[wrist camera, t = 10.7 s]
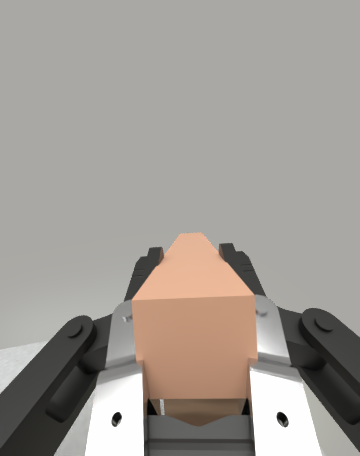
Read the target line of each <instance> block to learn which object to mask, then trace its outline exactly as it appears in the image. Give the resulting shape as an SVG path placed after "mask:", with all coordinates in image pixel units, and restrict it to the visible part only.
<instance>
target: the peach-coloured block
mask: <svg viewBox="0 0 360 456" xmlns="http://www.w3.org/2000/svg"><path fill="white" fill-rule="evenodd" d="M131 302H132V314H133V327H134V339H135V351H136V361H138V360H144V366H145V371H146V376H147V381H148V387H149V392H150V397H151V399H235V398H245V397H246V381H247V365H248V357H249V358H255V359H258V351H257V332H256V312H255V295H254V294H253V293H252V291H251V290H250V289H249V288H248V287H247V286H246V284H245V283H244V282H243V281H242V280H241V278H240V277H239V276H238V275H237V274H236V273H235V271H234V270H233V269H232V268H231V267H230V265H229V264H228V263H227V262H225V261H224V260H223V259H222V258H221V256H220V255H219V252H218V251H217V250H216V249H215V248H214V246H213V245H212V244H211V243H210V242H209V240H208V239H207V238H206V237H205V236H204V235H203V233H186V234H180V235H179V236H178V237H177V239H176V240H175V242H174V243H173V244H172V246H171V247H170V248H169V250H168V251H167V252H166V254H165V255H164V258H163V260H162V261H161V262H160V264H159V265H158V266H156V267H155V269H154V270H153V271H152V273H151V274H150V276H149V277H148V278H147V280H146V281H145V282H144V284H143V285H142V286H141V288H140V289H139V291H138V292H137V293H136V295H135V296H134V297H133V299H132V300H131Z"/></svg>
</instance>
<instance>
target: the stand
mask: <svg viewBox="0 0 360 456" xmlns="http://www.w3.org/2000/svg"><path fill="white" fill-rule="evenodd" d="M164 409H165V415H167V416H170V417H173V418H175V419H178V420H180V421H183V422H185V423H188V424H191V425H193V426H196V427H200V426H203V425H206V424H208V423H211V422H213V421H216V420H219V419H221V418H224V417H226V416H229V415H239V398H235V399H164Z"/></svg>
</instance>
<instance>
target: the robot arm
mask: <svg viewBox="0 0 360 456" xmlns="http://www.w3.org/2000/svg"><path fill="white" fill-rule="evenodd" d="M219 255H220V256H221V258H222V259H223V260H224V261H225V262H227V263H228V264H229V265H230V267H231V268H232V269H233V270H234V271H235V273H236V274H237V275H238V276H239V277H240V278H241V280H242V281H243V282H244V283H245V284H246V286H247V287H248V288H249V289H250V290H251V291H252V293H253V294H254V295H255V312H256V332H257V351H258V359H255V358H249V357H248V365H247V381H246V397H245V398H239V415H229V416H226V417H224V418H221V419H219V420H216V421H213V422H211V423H208V424H206V425H203V426H200V427H196V426H193V425H191V424H188V423H185V422H183V421H180V420H178V419H175V418H173V417H170V416H167V415H161V410H160V400H159V399H151V397H150V392H149V387H148V381H147V376H146V371H145V366H144V360H138V361H136V351H135V339H134V327H133V314H132V302H131V300H132V299H133V297H134V296H135V295H136V293H137V292H138V291H139V289H140V288H141V286H142V285H143V284H144V282H145V281H146V280H147V278H148V277H149V276H150V274H151V273H152V271H153V270H154V269H155V267H156V266H158V265H159V264H160V262H161V261H162V260H163V258H164V254H163V248H162V247H153V248H149V252H148V255H147V256H146V257H141V258H140V259H139V260H138V261H137V263H136V265H135V268H134V271H133V274H132V278H131V281H130V284H129V287H128V290H127V293H126V296H125V300H124V302H123V303H121V304H120V305H118V306H117V308H116V309H115V310H114V312H113V313H112V314H110V315H108V316H105V317H102V318H100V319H97V320H94V321H92V319H91V318H90V317H88V316H84V315H83V316H78V317H75V318H73V319H71V320H70V321H68V322H67V323H66V324H65V325H64V326H63V327H62V328H61V329H60V330H59V331H58V332H57V333H56V335H55V336H54V337H53V338H52V339H51V340H50V341H49V342H48V343H47V344H46V345H45V346H44V347H43V349H42V350H41V351H40V352H39V353H38V354H37V355H36V356H35V357H34V358H33V359H32V360H31V361H30V363H29V364H28V365H27V366H26V367H25V368H24V369H23V370H22V371H21V372H20V373H19V374H18V375H17V377H16V378H15V379H14V380H13V381H12V382H11V383H10V384H9V385H8V386H7V387H6V388H5V389H4V390H3V392H2V393H1V394H0V456H53V455H54V454H55V452H56V450H57V449H58V447H59V446H60V444H61V442H62V441H63V439H64V438H65V436H66V434H67V433H68V431H69V429H70V428H71V426H72V425H73V423H74V421H75V420H76V418H77V416H78V415H79V413H80V412H81V410H82V408H83V407H84V405H85V403H86V402H87V400H88V399H89V397H90V395H91V394H92V392H93V390H94V389H95V387H96V389H95V396H94V402H93V409H92V415H91V421H90V428H89V434H88V441H87V447H86V454H85V456H321V453H320V449H319V445H318V441H317V437H316V434H315V430H314V426H313V422H312V418H311V414H310V411H309V407H308V403H307V399H306V395H305V391H304V387H303V383H302V380H301V378H302V379H303V380H304V381H305V383H306V384H307V385H308V387H309V388H310V389H311V390H312V392H313V393H314V394H315V395H316V397H317V398H318V399H319V401H320V402H321V403H322V405H323V406H324V407H325V408H326V410H327V411H328V412H329V413H330V415H331V416H332V417H333V419H334V420H335V421H336V423H337V424H338V425H339V426H340V428H341V429H342V430H343V431H344V433H345V434H346V435H347V437H348V438H349V439H350V441H351V442H352V443H353V444H354V446H355V447H356V448H357V449H358V451H359V452H360V337H358V336H357V335H356V334H355V333H354V332H353V331H351V330H350V329H349V328H348V327H347V326H345V325H344V324H343V323H342V322H341V321H340V320H338V319H337V318H336V317H335V316H333V315H332V314H330V313H328V312H327V311H324V310H321V309H317V308H309V309H306V310H305V311H304V312H303V314H301V313H296V312H293V311H289V310H285V309H282V308H280V307H278V306H276V305H275V303H273V301H271V300H270V299H268V298H267V297H266V295H265V293H264V290H263V288H262V286H261V284H260V281H259V279H258V277H257V275H256V273H255V271H254V268H253V266H252V264H251V261H250V259H249V257H248V256H247V255H245V253H244V252H242V251H238V252H236V251H235V249H234V246H233V244H232V243H224V244H219ZM300 376H301V377H300ZM118 423H119V424H120V425H119V426H117V424H118ZM283 426H284V428H283Z"/></svg>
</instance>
